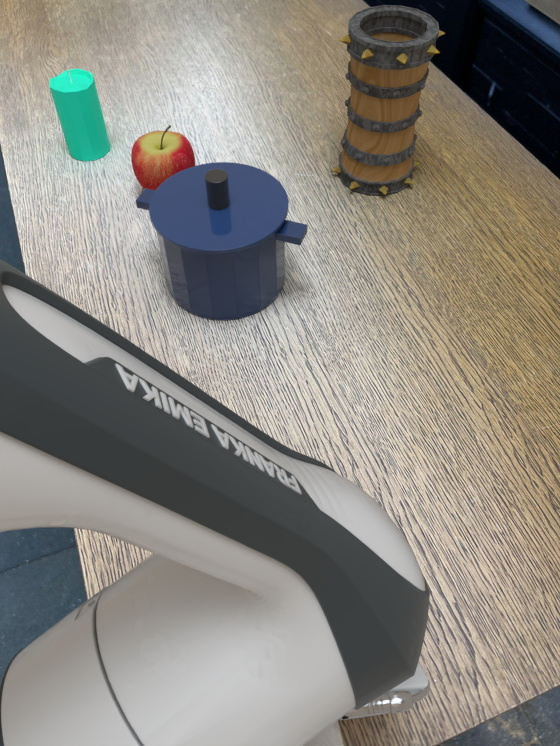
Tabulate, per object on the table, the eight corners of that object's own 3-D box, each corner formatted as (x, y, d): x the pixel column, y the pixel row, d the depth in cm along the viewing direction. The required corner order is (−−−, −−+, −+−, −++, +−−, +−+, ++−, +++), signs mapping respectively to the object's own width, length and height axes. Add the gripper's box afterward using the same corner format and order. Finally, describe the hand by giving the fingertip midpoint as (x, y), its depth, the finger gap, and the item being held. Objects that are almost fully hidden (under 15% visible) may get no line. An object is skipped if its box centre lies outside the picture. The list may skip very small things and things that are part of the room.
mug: (337, 205, 87) (348, 55, 71) (317, 133, 97) (323, -11, 81) (431, 197, 88) (463, 48, 72) (402, 126, 98) (424, -17, 82)
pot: (282, 339, 72) (282, 269, 64) (127, 297, 77) (108, 227, 68) (320, 258, 80) (324, 187, 72) (178, 224, 85) (166, 154, 76)
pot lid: (259, 272, 65) (258, 236, 61) (125, 239, 68) (116, 203, 64) (306, 185, 73) (307, 149, 70) (186, 159, 77) (181, 124, 73)
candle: (104, 133, 98) (85, 54, 88) (115, 155, 94) (96, 74, 85) (65, 143, 96) (40, 63, 87) (74, 165, 93) (50, 84, 83)
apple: (189, 213, 86) (179, 146, 78) (128, 205, 87) (112, 138, 79) (206, 176, 91) (198, 109, 83) (148, 169, 92) (135, 103, 84)
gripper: (436, 650, 36) (380, 553, 50) (68, 698, 35) (113, 584, 49) (443, 753, 37) (385, 629, 51) (83, 803, 36) (123, 662, 50)
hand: (250, 607), depth 50 cm, fingers closed
